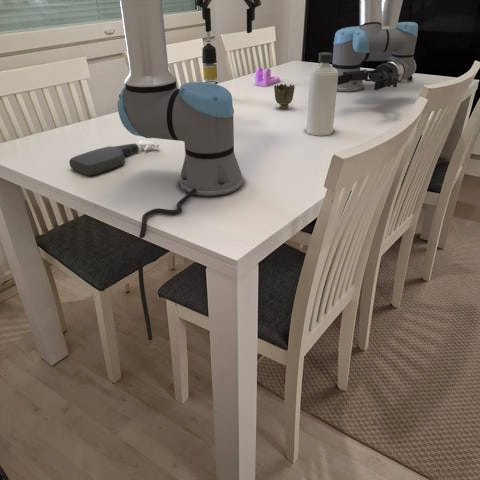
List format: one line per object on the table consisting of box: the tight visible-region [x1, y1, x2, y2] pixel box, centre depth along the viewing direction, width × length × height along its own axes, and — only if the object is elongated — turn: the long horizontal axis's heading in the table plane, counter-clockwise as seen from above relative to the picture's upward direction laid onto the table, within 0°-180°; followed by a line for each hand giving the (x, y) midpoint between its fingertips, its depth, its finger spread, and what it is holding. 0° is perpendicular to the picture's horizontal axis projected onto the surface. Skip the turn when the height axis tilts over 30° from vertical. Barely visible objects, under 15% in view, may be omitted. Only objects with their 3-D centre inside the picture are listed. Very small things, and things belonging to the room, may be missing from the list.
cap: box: [317, 51, 333, 64], centre depth 131 cm, size 4×4×2 cm
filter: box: [201, 31, 219, 85], centre depth 171 cm, size 6×6×30 cm
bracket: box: [254, 66, 280, 87], centre depth 199 cm, size 13×6×7 cm, turn 143°
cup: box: [273, 83, 296, 110], centre depth 163 cm, size 8×7×8 cm
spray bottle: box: [68, 139, 160, 177], centre depth 124 cm, size 3×11×24 cm
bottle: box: [305, 62, 338, 137], centre depth 137 cm, size 8×8×23 cm
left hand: (228, 32), depth 139 cm, fingers open, 13 cm apart
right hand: (356, 83), depth 145 cm, fingers open, 13 cm apart
